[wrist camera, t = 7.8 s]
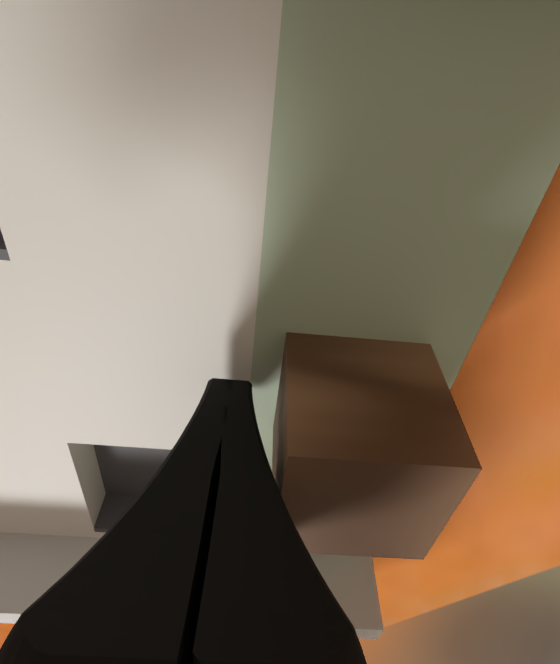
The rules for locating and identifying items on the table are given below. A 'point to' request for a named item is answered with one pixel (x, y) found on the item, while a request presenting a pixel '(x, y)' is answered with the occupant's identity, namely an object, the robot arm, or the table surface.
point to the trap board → (239, 223)
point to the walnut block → (368, 446)
